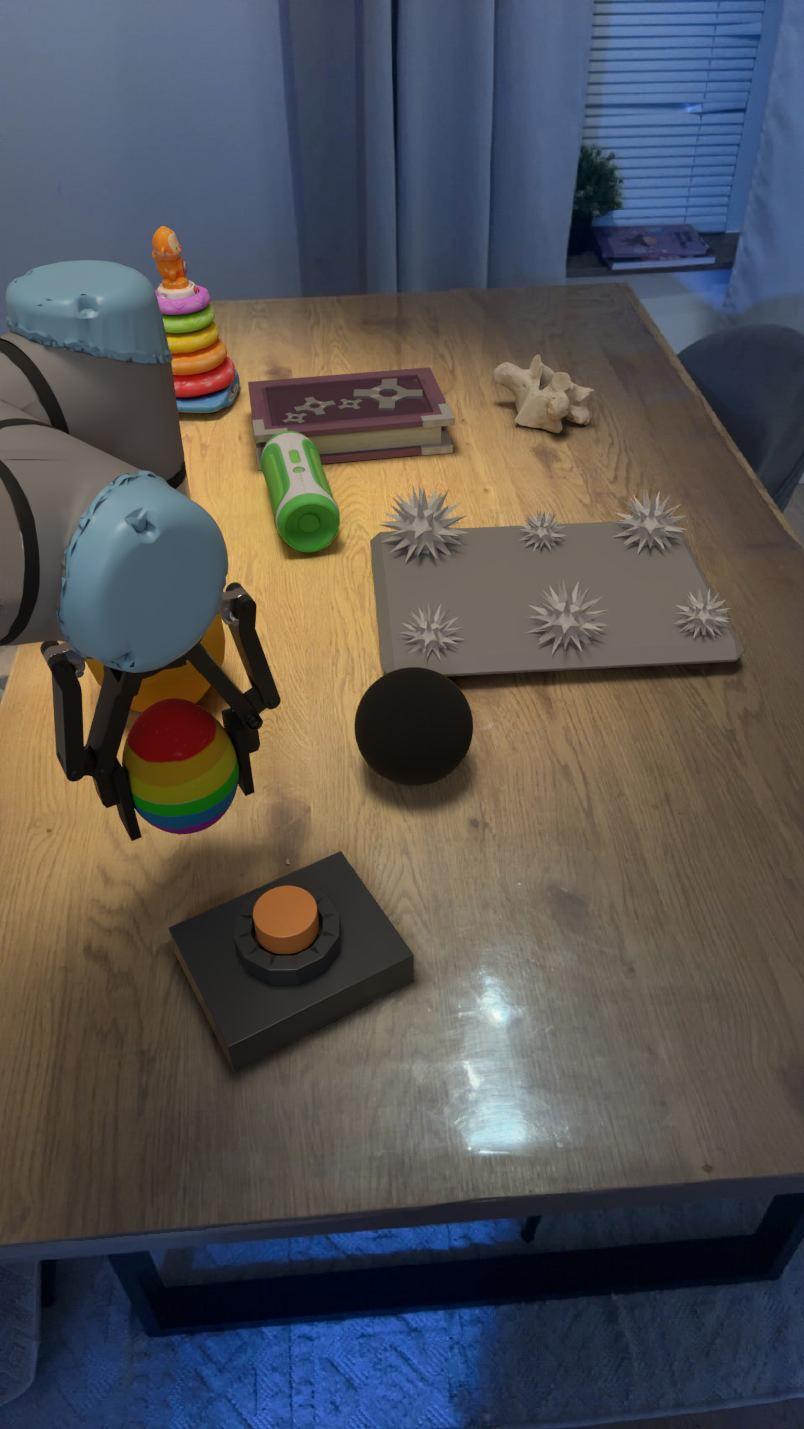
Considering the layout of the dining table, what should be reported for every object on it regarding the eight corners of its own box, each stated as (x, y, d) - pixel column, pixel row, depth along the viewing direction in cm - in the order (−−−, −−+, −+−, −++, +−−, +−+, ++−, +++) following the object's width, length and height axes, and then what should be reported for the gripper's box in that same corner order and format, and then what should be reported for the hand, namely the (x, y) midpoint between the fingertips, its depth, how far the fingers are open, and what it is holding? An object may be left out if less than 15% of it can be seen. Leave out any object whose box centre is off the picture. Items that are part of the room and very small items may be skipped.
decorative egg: (232, 759, 80) (216, 659, 73) (253, 833, 74) (238, 732, 67) (127, 783, 78) (101, 682, 71) (140, 860, 72) (113, 759, 65)
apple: (76, 730, 93) (45, 630, 85) (127, 644, 102) (104, 547, 95) (210, 745, 91) (191, 645, 84) (250, 656, 101) (237, 559, 93)
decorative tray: (383, 694, 96) (380, 608, 90) (369, 546, 115) (366, 467, 109) (744, 673, 98) (768, 588, 91) (671, 532, 117) (687, 453, 110)
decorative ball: (339, 794, 86) (333, 707, 80) (379, 720, 93) (376, 633, 87) (451, 822, 84) (454, 734, 77) (484, 743, 91) (489, 656, 84)
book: (258, 472, 129) (254, 435, 125) (251, 416, 140) (247, 381, 137) (454, 454, 132) (455, 418, 128) (430, 400, 143) (430, 366, 140)
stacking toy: (226, 423, 139) (202, 244, 123) (135, 419, 140) (100, 241, 124) (247, 381, 149) (227, 211, 133) (162, 378, 150) (133, 209, 134)
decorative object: (555, 451, 134) (557, 398, 128) (475, 414, 141) (473, 363, 135) (595, 419, 138) (599, 366, 132) (515, 385, 145) (515, 333, 138)
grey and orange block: (234, 1072, 68) (224, 1032, 64) (174, 953, 75) (163, 911, 71) (414, 980, 73) (414, 938, 69) (342, 876, 80) (339, 834, 76)
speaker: (344, 553, 114) (341, 494, 109) (280, 561, 113) (274, 502, 108) (319, 478, 127) (315, 422, 122) (261, 485, 126) (255, 429, 121)
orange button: (272, 965, 68) (269, 947, 67) (245, 919, 71) (242, 901, 70) (330, 937, 70) (328, 919, 69) (302, 893, 73) (299, 875, 71)
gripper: (-32, 627, 54) (63, 895, 69) (319, 524, 62) (336, 785, 77) (-61, 561, 59) (33, 825, 74) (268, 473, 67) (293, 727, 82)
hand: (187, 804), depth 76 cm, fingers closed on decorative egg, 8 cm apart
